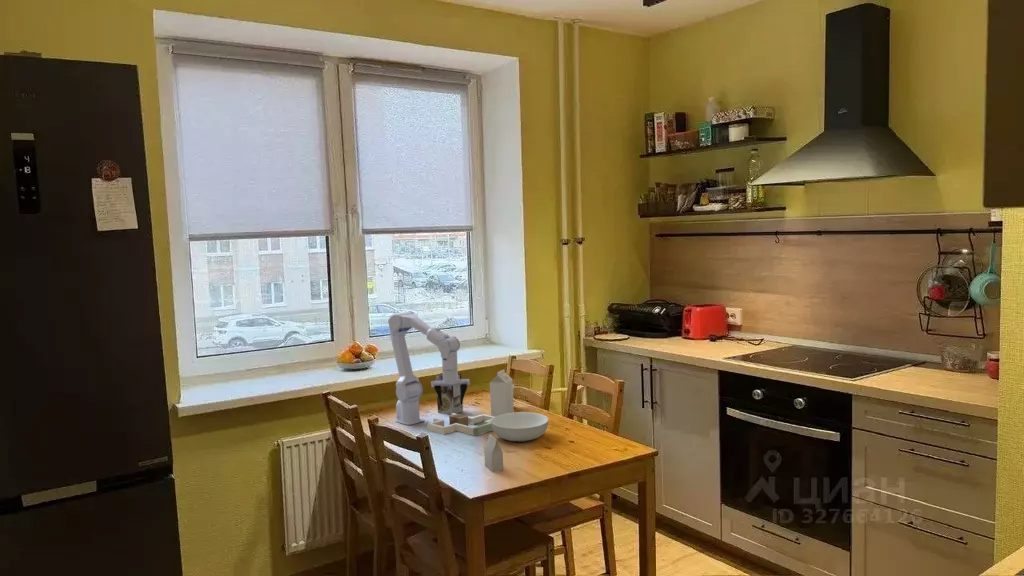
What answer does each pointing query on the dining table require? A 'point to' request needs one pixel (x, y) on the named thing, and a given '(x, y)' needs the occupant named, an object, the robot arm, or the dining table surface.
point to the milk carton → (501, 394)
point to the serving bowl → (520, 426)
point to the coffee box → (449, 398)
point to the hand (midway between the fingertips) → (451, 404)
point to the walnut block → (458, 419)
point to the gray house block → (493, 455)
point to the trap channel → (480, 420)
